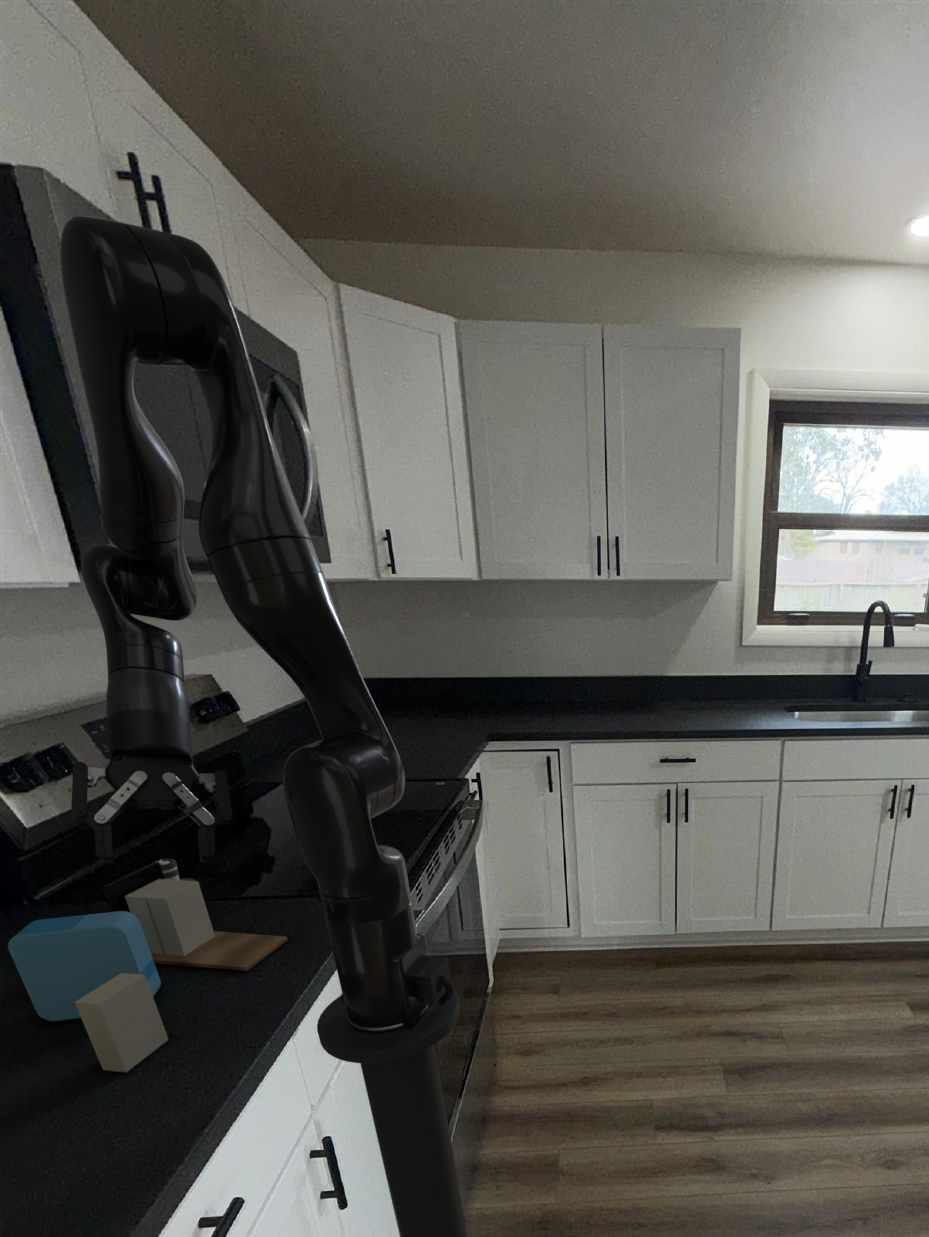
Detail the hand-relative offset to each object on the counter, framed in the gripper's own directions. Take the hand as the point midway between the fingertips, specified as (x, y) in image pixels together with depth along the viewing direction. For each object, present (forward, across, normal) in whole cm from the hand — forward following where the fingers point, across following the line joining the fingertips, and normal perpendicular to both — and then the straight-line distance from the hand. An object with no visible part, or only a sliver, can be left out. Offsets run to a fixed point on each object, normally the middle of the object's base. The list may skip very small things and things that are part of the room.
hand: (158, 861), depth 78 cm
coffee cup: (-7, +6, +55) cm, 55 cm away
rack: (+7, +8, +29) cm, 30 cm away
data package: (+14, -5, +23) cm, 27 cm away
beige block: (+20, -2, +10) cm, 23 cm away
